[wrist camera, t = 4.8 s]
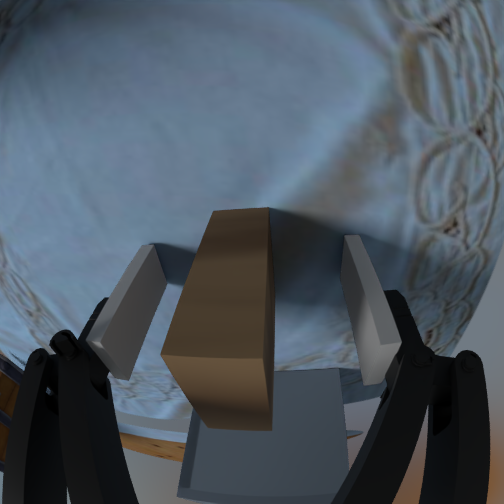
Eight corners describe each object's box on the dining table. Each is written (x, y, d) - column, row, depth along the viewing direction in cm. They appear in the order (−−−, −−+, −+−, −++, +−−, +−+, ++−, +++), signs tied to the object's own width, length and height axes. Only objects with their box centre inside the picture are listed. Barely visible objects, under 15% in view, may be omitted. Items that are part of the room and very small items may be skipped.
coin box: (201, 369, 21) (176, 496, 12) (338, 367, 20) (350, 501, 11) (231, 431, 30) (222, 508, 21) (319, 430, 29) (320, 509, 20)
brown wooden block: (213, 210, 13) (160, 354, 7) (268, 207, 13) (262, 358, 6) (229, 296, 16) (207, 428, 10) (275, 295, 16) (272, 430, 9)
